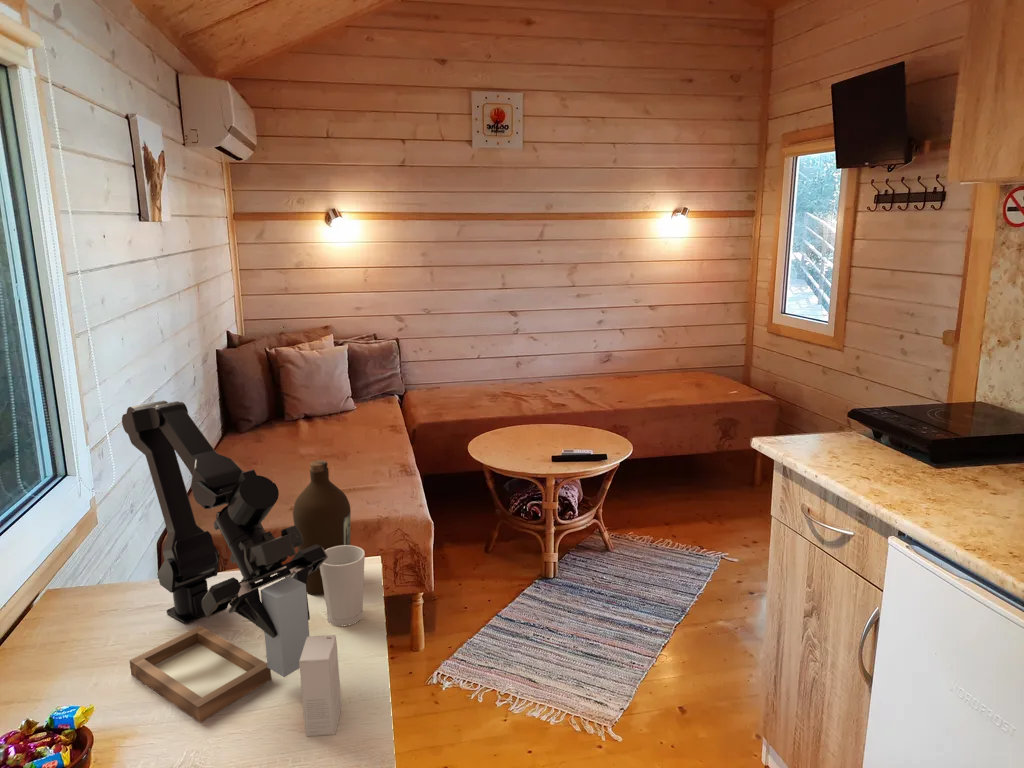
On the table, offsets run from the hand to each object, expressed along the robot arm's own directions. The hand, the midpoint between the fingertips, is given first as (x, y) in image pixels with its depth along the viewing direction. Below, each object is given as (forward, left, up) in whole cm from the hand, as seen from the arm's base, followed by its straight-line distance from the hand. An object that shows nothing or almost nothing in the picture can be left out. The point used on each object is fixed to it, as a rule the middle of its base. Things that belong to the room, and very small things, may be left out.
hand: (291, 628), depth 108 cm
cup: (-9, +18, -10) cm, 23 cm away
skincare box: (+9, -3, -10) cm, 14 cm away
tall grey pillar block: (-1, 0, -7) cm, 7 cm away
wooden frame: (-14, -7, -10) cm, 19 cm away
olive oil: (-21, +24, -10) cm, 34 cm away
